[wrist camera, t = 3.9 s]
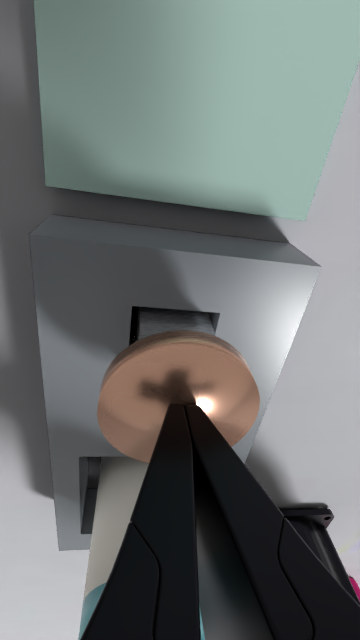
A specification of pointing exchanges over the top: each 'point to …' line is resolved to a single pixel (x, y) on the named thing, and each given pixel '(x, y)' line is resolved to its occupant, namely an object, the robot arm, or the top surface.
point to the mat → (195, 98)
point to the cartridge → (111, 525)
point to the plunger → (174, 381)
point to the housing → (115, 319)
